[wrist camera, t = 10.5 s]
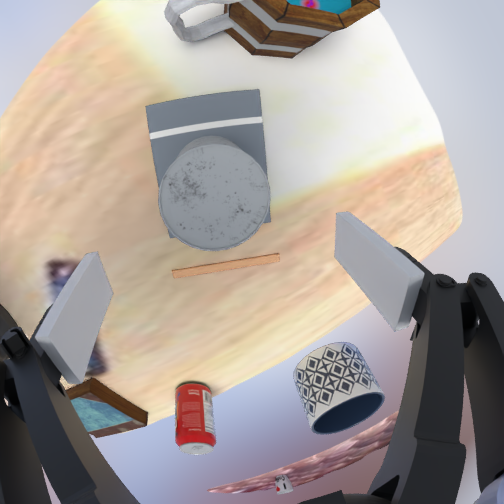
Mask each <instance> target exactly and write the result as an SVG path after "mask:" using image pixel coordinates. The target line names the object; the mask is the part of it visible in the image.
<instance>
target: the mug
mask: <svg viewBox="0 0 504 504" xmlns="http://www.w3.org/2000/svg"><path fill="white" fill-rule="evenodd" d="M208 3H220V4H224V14H223V15H220V16H217V17H215V18H212V19H209V20H207V21H205V22H203V23H200V24H198V25H196V26H191V27H187V28H185V27H184V23H183V20H182V19H181V18H180V17H179V16H180V14H182V13H184V12H185V11H187V10H189V9H191V8H193V7H195V6H197V5H203V4H208ZM378 8H380V1H379V0H169V1H168V4H167V6H166V9H165V11H164V13H165V18H166V19H167V21H168V22H169V23H170V24H171V25H172V28H173V30H174V32H175V33H176V35H177V36H178V37H179V38H180V40H184V41H190V42H193V41H196V40H200V39H204V38H206V37H208V36H210V35H213V34H215V33H218V32H220V31H223V30H224V31H225V32H226V33H228V34H229V35H230V36H231V37H232V38H234V39H235V40H236V41H237V42H238V43H239V44H240V45H241V46H243V47H244V48H245V49H246V50H247V51H248V52H249V53H250V54H251V55H261V56H273V57H284V58H293V57H294V56H296V55H297V54H298V53H300V52H301V51H302V50H304V49H305V48H307V47H310V46H313V45H314V44H316V43H317V42H318V41H320V40H321V39H323V38H324V37H326V36H327V35H329V34H330V33H332V32H334V31H337V30H341V29H345V28H347V27H349V26H350V25H352V24H353V23H355V22H356V21H358V20H360V19H361V18H363V17H365V16H366V15H368V14H370V13H371V12H373V11H375V10H376V9H378Z"/></svg>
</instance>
